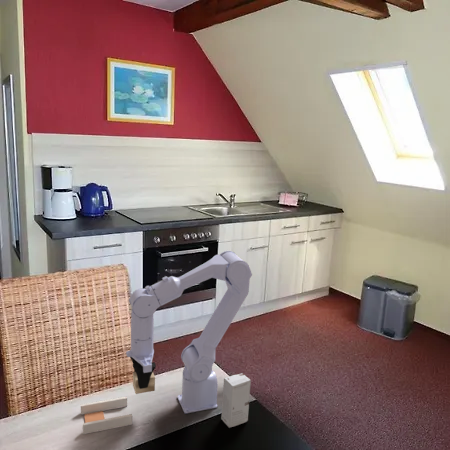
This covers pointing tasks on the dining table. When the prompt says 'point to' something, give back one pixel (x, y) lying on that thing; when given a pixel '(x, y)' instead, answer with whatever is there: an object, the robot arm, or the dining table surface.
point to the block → (137, 390)
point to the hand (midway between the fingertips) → (141, 382)
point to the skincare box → (235, 400)
